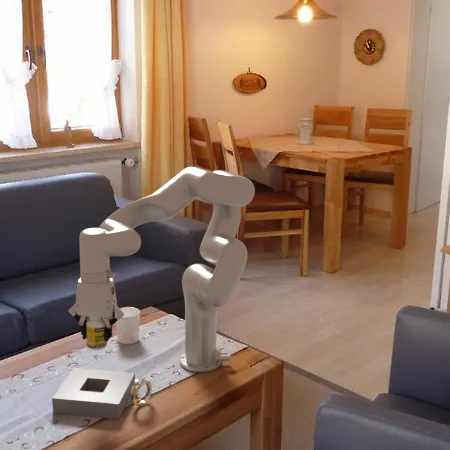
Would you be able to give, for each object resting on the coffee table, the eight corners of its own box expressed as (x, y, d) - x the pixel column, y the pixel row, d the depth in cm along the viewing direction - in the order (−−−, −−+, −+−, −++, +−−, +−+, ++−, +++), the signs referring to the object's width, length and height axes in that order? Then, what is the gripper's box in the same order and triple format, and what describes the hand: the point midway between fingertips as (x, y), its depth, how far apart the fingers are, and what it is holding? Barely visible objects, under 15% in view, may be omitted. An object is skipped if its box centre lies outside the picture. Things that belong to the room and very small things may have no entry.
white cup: (127, 332, 213) (127, 304, 211) (145, 338, 209) (144, 311, 206) (111, 340, 207) (110, 312, 204) (128, 347, 203) (127, 319, 200)
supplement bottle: (95, 352, 167) (94, 318, 165) (82, 346, 171) (81, 312, 168) (111, 345, 171) (110, 312, 169) (98, 339, 175) (97, 306, 172)
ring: (135, 412, 168) (134, 386, 166) (127, 407, 170) (126, 381, 168) (155, 402, 173) (154, 376, 171) (147, 397, 175) (146, 372, 173)
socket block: (135, 387, 180) (134, 373, 179) (119, 419, 165) (118, 404, 164) (74, 381, 182) (73, 367, 181) (53, 413, 167) (52, 398, 166)
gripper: (131, 273, 168) (131, 335, 173) (69, 267, 170) (71, 329, 175) (122, 283, 161) (123, 347, 166) (58, 277, 163) (60, 341, 168)
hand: (96, 337), depth 170 cm, fingers closed on supplement bottle, 5 cm apart
